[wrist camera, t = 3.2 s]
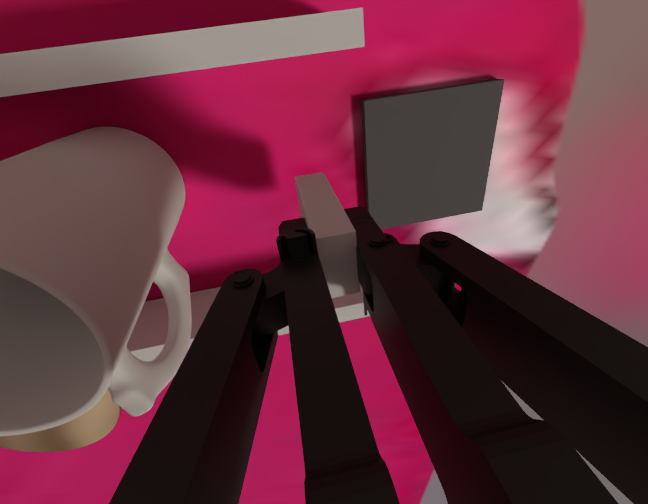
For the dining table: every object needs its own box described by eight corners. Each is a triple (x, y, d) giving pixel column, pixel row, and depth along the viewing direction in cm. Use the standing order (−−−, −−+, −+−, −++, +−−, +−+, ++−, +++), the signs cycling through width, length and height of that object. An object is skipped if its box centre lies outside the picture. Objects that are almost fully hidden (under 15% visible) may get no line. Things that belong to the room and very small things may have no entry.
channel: (-18, 348, 21) (-76, 410, 18) (-278, 99, 13) (-492, 117, 9) (356, 273, 24) (374, 314, 20) (337, 18, 15) (363, 7, 12)
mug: (20, 162, 16) (-367, 340, 6) (125, 92, 15) (-119, 165, 5) (163, 290, 22) (82, 495, 12) (247, 243, 21) (237, 419, 11)
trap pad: (367, 227, 22) (369, 231, 21) (361, 99, 17) (364, 100, 17) (476, 206, 22) (481, 210, 22) (497, 78, 18) (504, 79, 18)
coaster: (13, 456, 28) (8, 464, 27) (-91, 378, 22) (-99, 386, 21) (143, 426, 29) (140, 433, 28) (77, 344, 23) (73, 350, 22)
